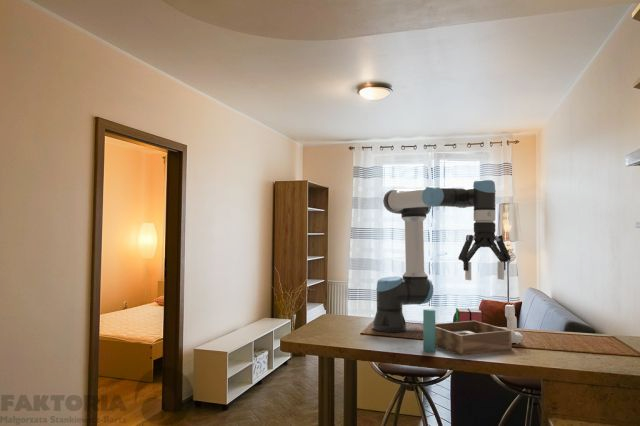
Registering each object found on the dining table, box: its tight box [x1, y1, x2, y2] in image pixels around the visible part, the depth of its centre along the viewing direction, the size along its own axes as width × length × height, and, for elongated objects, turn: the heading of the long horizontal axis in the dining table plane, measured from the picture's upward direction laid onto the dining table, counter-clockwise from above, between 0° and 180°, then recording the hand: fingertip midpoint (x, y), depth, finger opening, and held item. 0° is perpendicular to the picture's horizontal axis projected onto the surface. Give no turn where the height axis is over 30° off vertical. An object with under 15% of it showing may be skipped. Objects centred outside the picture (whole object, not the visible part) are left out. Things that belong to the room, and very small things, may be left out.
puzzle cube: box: [455, 307, 483, 323], centre depth 190 cm, size 10×10×10 cm
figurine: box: [504, 304, 524, 345], centre depth 173 cm, size 7×9×15 cm
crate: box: [435, 321, 513, 356], centre depth 168 cm, size 20×24×7 cm
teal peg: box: [422, 308, 437, 353], centre depth 160 cm, size 4×4×15 cm
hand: (484, 279), depth 157 cm, fingers open, 13 cm apart
